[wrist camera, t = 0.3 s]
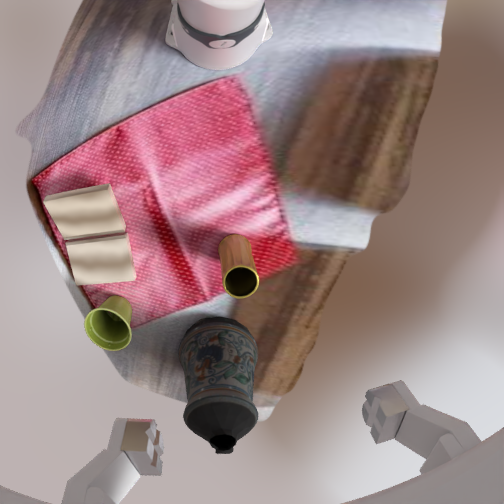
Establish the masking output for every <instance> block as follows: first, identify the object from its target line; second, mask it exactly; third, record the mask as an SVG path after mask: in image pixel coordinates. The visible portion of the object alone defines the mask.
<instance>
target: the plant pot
mask: <svg viewBox="0 0 504 504" xmlns="http://www.w3.org/2000/svg"><path fill="white" fill-rule="evenodd" d="M108 311H110V313H111V314H112V315H111V314H110V313H109V312H108ZM131 316H132V307H131V305H130V303H129V302H128V301H127V300H126V299H125V298H123V297H120V296H117V295H114V296H110V297H109V298H108V299H107V300H106V301H105V302H104V303H103V304H102V305H101V306H99V307H98V308H96V309H93V310H92V311H90V312H89V313H88V314H87V316H86V318H85V322H84V327H85V331H86V333H87V335H88V337H89V338H90V339H91V341H92V342H93V343H95V344H96V345H97V346H99V347H101V348H103V349H105V350H110V351H118V350H121V349H124V348H125V347H127V346H128V344H129V343H130V341H131V336H132V333H131V328H130V322H131Z"/></svg>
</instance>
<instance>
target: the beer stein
mask: <svg viewBox="0 0 504 504" xmlns="http://www.w3.org/2000/svg"><path fill="white" fill-rule="evenodd" d="M178 354H179V359H180V363H181V365H182V367H183V369H184V374H185V384H186V392H187V399H188V404H187V405H186V408H185V411H184V415H183V418H184V421H185V424H186V425H187V426H188V428H189V429H190V430H192V431H193V432H194V433H195V434H197V435H198V436H200V437H202V438H203V439H205V440H206V441H208V442H209V443H210V445H211V446H212V447H213V448H215V449H216V453H217V454H230V453H232V452H233V446H234V445H236V442H237V440H239V439H240V438H242V437H243V436H244V435H246V434H247V433H248V432H249V431H250V430H251V429H252V428H253V427H254V426H255V424H256V423H257V420H258V411H257V409H256V407H255V405H254V403H253V402H252V401H253V382H254V370H255V366H256V363H257V360H258V348H257V344H256V342H255V340H254V338H253V336H252V335H251V334H250V332H249V330H248V329H247V328H246V327H245V326H243V325H242V324H240V323H239V322H237V321H236V320H232V319H228V318H223V317H213V318H205V319H201V320H199V321H198V322H197V323H196V324H194V325H193V326H192V327H191V328H190V329H188V330H187V332H186V334H185V336H184V338H183V340H182V342H181V344H180V346H179V353H178Z"/></svg>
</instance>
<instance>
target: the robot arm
mask: <svg viewBox="0 0 504 504" xmlns="http://www.w3.org/2000/svg"><path fill="white" fill-rule="evenodd" d="M264 1H265V0H171V3H172V4H173V7H172V11H171V15H170V20H169V24H168V28H167V33H166V38H165V40H166V44H167V45H169V46H171V47H173V48H175V49H178V50H179V51H181V52H182V53H183V55H184V56H185V57H186V58H187V59H188V60H189V61H191V62H192V63H194V64H195V65H197V66H200V67H202V68H206V69H211V70H224V69H230V68H233V67H236V66H238V65H240V64H242V63H244V62H245V61H247V60H248V59H249V58H250V57H251V56H252V55H253V54H254V52H255V51H256V50H257V48H258V47H259V46H260V45H261V44H262V43H264V42H266V41H267V40H269V39H270V38H271V37H272V34H273V31H272V27H271V24H270V22H269V19H268V16H267V13H266V10H265V7H264V6H265V2H264ZM172 33H173V35H171V34H172ZM365 397H366V399H367V401H366V402H365V403H364V404H363V408H362V414H363V418H364V421H365V423H366V425H368V426H370V427H372V428H371V432H370V433H371V435H372V437H373V438H374V441H375V443H376V444H378V443H381V442H385V441H388V440H391V439H394V438H395V440H397V441H399V442H400V443H401V444H403V445H404V446H406V447H408V448H409V449H411V450H412V451H414V452H416V453H417V454H419V455H420V456H422V457H424V458H426V461H425V463H424V464H423V466H422V467H421V469H420V472H421V475H419V476H417V477H415V478H412V479H410V480H408V481H405V482H403V483H401V484H398V485H395V486H393V487H391V488H388V489H385V490H382V491H380V492H377V493H374V494H371V495H368V496H365V497H362V498H359V499H356V500H352V501H349V502H346V503H342V504H504V427H503V428H502V429H501V430H499V431H498V432H496V433H495V434H493V435H492V436H490V437H489V438H487V439H485V440H484V441H482V442H481V440H480V439H479V438H478V436H477V435H476V434H475V432H474V431H473V430H472V428H471V427H470V426H469V425H468V423H467V422H464V421H462V420H459V419H457V418H454V417H452V416H450V415H447V414H445V413H442V412H440V411H437V410H435V409H433V408H430V407H428V406H426V405H420V404H419V403H418V401H417V400H416V398H415V397H414V395H413V394H412V393H411V392H410V390H409V389H408V387H407V386H406V384H405V383H404V382H403V381H401V380H400V381H397V382H394V383H391V384H386V385H383V386H380V387H377V388H373V389H370V390H368V391H367V392H366V395H365ZM163 449H164V445H163V438H162V435H161V433H160V431H158V430H157V424H156V422H155V420H152V419H128V418H127V419H126V418H117V419H116V420H115V422H114V425H113V429H112V432H111V437H110V440H109V444H108V449H107V450H103V451H102V452H101V453H99V454H98V455H97V456H96V457H95V458H94V459H93V460H92V461H90V462H89V463H88V464H87V465H86V466H85V467H83V468H82V469H81V470H80V471H79V472H78V473H77V474H76V475H74V476H73V477H72V478H71V479H70V480H68V482H67V485H66V489H65V492H64V496H63V500H62V504H119V503H120V502H121V501H122V499H123V498H124V497H125V496H126V494H127V493H128V492H129V490H130V489H131V488H132V487H133V486H134V484H135V483H136V482H137V481H138V479H139V478H140V475H155V476H157V475H158V476H160V475H161V473H162V460H161V459H160V456H161V455H162V454H163ZM0 504H50V503H47V502H44V501H40V500H38V499H35V498H32V497H29V496H25V495H23V494H20V493H18V492H15V491H12V490H10V489H7V488H5V487H3V486H0Z"/></svg>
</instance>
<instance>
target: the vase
mask: <svg viewBox="0 0 504 504" xmlns="http://www.w3.org/2000/svg"><path fill="white" fill-rule="evenodd" d="M218 254H219V256H220V263H221V270H222V282H223V286H224V289H225V291H226V292H227V293H228V294H229V295H230V296H232V297H234V298H246V297H248V296H250V295H252V294H253V293H254V292H255V291H256V289H257V288H258V284H259V277H258V273H257V271H256V267H255V263H254V260H253V257H252V254H251V245H250V242H249V241H248V240H247V239H246V238H245V237H244V236H242V235H238V234H232V235H229V236H227V237H225V238H224V239H223V240H222V241H221V242H220V244H219V248H218Z"/></svg>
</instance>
